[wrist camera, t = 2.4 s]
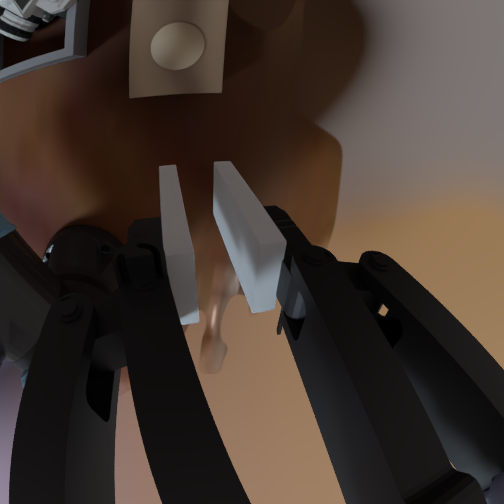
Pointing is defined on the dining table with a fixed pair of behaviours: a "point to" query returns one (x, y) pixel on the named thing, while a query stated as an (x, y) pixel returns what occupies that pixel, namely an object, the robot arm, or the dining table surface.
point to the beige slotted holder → (177, 47)
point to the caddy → (73, 50)
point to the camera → (29, 15)
